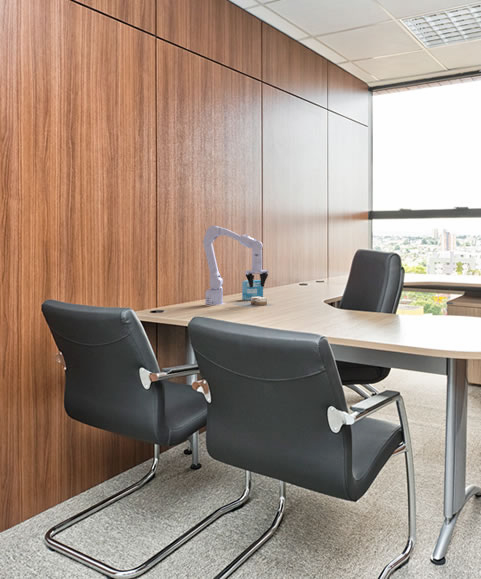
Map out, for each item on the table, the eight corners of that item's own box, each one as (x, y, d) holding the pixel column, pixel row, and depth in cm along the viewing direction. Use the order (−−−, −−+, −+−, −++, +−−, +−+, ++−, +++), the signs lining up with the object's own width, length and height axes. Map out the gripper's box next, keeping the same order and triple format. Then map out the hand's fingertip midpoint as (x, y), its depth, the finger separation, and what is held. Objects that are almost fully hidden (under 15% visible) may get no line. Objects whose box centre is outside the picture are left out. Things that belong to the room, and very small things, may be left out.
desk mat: (248, 308, 295) (248, 307, 295) (230, 304, 309) (230, 303, 309) (274, 305, 305) (274, 304, 305) (256, 302, 319) (256, 301, 319)
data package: (245, 301, 324) (245, 281, 323) (242, 300, 328) (242, 280, 327) (263, 300, 330) (263, 280, 329) (259, 299, 334) (259, 279, 333)
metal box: (250, 304, 307) (250, 297, 307) (258, 303, 310) (258, 296, 310) (259, 305, 301) (259, 298, 300) (266, 305, 304) (266, 297, 303)
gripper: (250, 263, 297) (250, 288, 299) (271, 262, 305) (271, 286, 307) (243, 262, 303) (242, 287, 304) (264, 261, 311) (264, 285, 313)
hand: (256, 287), depth 306 cm, fingers open, 7 cm apart
